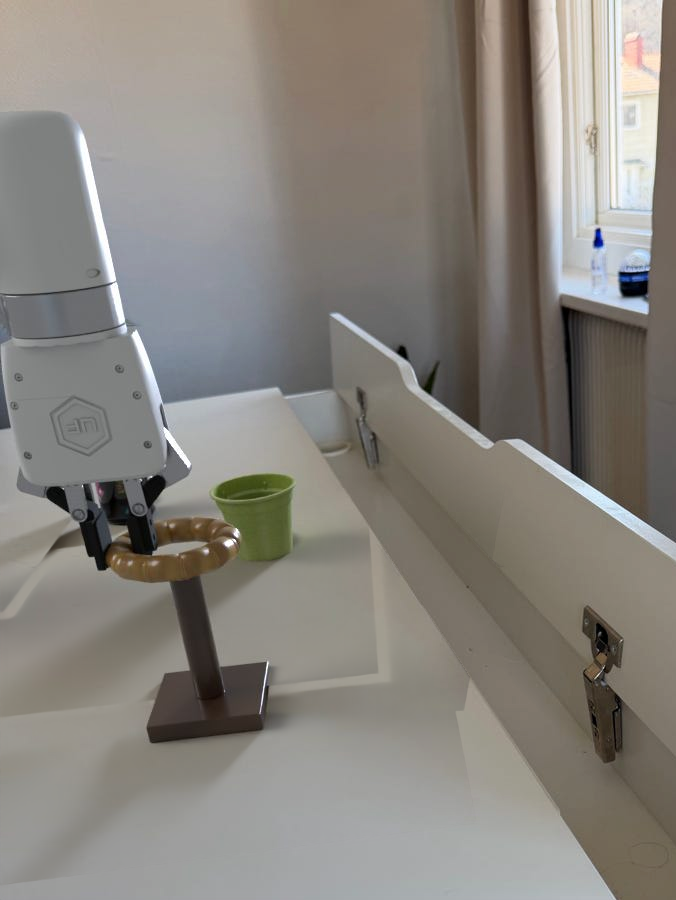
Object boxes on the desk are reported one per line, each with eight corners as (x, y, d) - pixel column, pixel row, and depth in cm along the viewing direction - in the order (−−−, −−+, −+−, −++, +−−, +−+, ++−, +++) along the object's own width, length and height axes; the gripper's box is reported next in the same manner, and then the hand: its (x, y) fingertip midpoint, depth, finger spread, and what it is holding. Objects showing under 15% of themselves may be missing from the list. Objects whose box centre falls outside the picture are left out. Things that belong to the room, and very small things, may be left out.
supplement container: (133, 505, 132) (115, 429, 127) (168, 512, 129) (150, 434, 124) (92, 522, 127) (72, 443, 122) (127, 529, 124) (107, 448, 119)
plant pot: (240, 582, 106) (225, 506, 102) (213, 557, 113) (198, 485, 109) (320, 560, 110) (308, 486, 106) (288, 537, 117) (276, 467, 113)
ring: (97, 592, 71) (90, 567, 70) (124, 543, 80) (119, 519, 79) (235, 579, 72) (231, 554, 71) (247, 531, 81) (243, 508, 80)
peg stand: (149, 743, 78) (112, 601, 72) (167, 687, 86) (135, 556, 80) (263, 729, 79) (235, 588, 73) (271, 675, 86) (246, 544, 81)
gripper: (-76, 334, 63) (5, 592, 72) (175, 314, 64) (225, 570, 73) (-36, 316, 70) (33, 554, 78) (191, 298, 71) (235, 534, 80)
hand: (126, 560), depth 76 cm, fingers closed on ring, 2 cm apart
